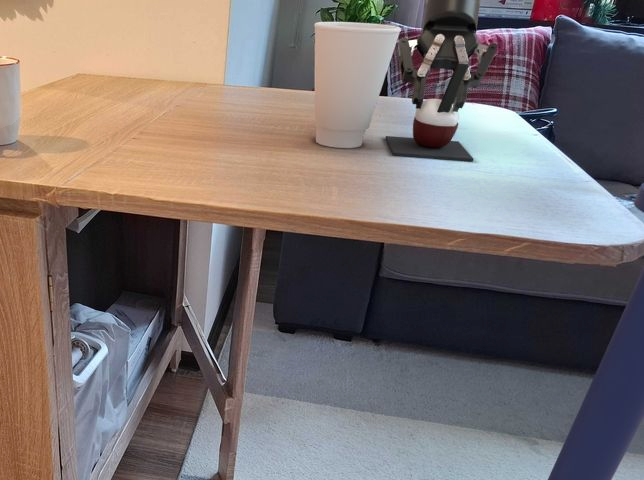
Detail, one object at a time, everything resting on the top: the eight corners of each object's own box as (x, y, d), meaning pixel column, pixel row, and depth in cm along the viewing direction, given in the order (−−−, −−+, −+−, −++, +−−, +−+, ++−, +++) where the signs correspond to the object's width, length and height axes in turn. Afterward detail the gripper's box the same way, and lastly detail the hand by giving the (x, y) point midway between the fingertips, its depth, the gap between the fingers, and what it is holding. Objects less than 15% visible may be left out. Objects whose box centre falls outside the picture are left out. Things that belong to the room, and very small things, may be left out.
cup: (377, 155, 90) (402, 30, 82) (294, 147, 93) (310, 25, 84) (379, 138, 100) (401, 25, 92) (304, 130, 102) (318, 20, 94)
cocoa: (413, 137, 99) (431, 53, 93) (455, 142, 97) (476, 57, 91) (403, 150, 92) (422, 60, 85) (448, 156, 90) (471, 64, 83)
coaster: (457, 143, 98) (458, 141, 98) (472, 161, 89) (473, 158, 89) (385, 138, 100) (385, 135, 100) (392, 155, 91) (393, 152, 90)
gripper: (406, -17, 91) (390, 85, 88) (512, -12, 88) (500, 94, 85) (397, 22, 98) (382, 118, 95) (495, 28, 95) (483, 127, 92)
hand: (437, 106), depth 90 cm, fingers closed on cocoa, 4 cm apart
